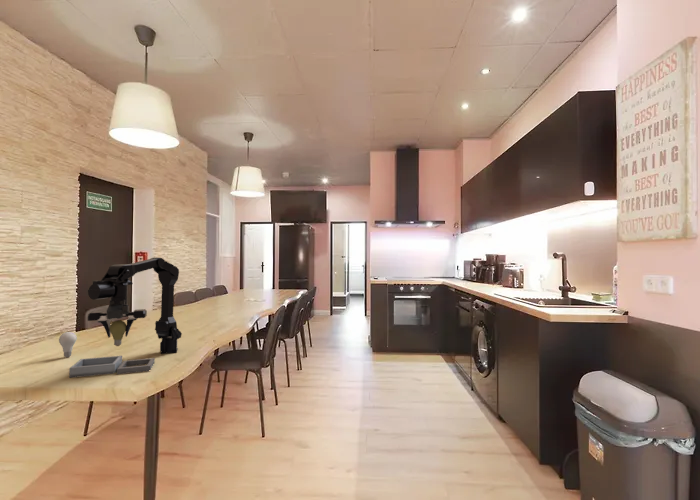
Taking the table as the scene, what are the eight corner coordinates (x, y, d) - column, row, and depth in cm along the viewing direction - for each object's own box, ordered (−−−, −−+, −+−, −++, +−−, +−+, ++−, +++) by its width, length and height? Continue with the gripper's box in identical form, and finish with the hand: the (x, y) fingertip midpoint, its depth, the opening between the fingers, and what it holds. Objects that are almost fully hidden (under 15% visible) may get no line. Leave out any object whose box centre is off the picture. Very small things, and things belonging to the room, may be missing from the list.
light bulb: (118, 348, 134) (118, 321, 134) (105, 347, 135) (106, 321, 135) (129, 344, 139) (130, 319, 139) (117, 343, 140) (118, 318, 140)
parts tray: (122, 364, 144) (122, 355, 144) (114, 373, 132) (114, 364, 132) (80, 367, 138) (80, 359, 138) (69, 377, 127) (69, 368, 127)
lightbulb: (77, 357, 152) (78, 332, 153) (59, 360, 148) (60, 334, 148) (74, 354, 157) (75, 329, 157) (57, 357, 152) (57, 331, 152)
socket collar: (154, 362, 146) (154, 357, 146) (150, 370, 135) (150, 365, 136) (123, 365, 142) (123, 360, 142) (116, 374, 131) (117, 368, 131)
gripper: (83, 300, 126) (82, 343, 126) (143, 298, 134) (142, 339, 133) (92, 296, 136) (91, 337, 136) (147, 295, 144) (146, 333, 143)
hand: (117, 336), depth 137 cm, fingers closed on light bulb, 5 cm apart
